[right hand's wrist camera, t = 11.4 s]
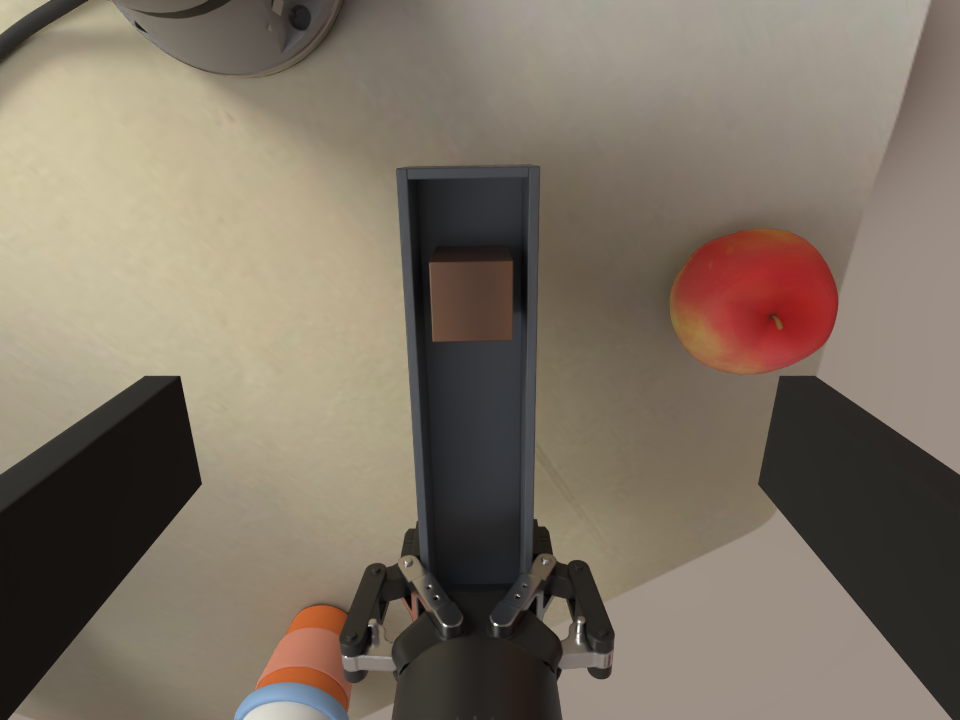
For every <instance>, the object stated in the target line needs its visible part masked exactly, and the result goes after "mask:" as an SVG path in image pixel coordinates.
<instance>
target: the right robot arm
mask: <svg viewBox="0 0 960 720" xmlns="http://www.w3.org/2000/svg"><path fill="white" fill-rule="evenodd" d="M86 1H88V0H50V1H49V2H47V3H46V4H44V5H42V6H41V7H39V8H37V9H36V10H34V11H33V12H31V13H29V14H28V15H26V16H25V17H24V18H22V19H21V20H19V21H18V22H16V23H15V24H14V25H12V26H11V27H10V28H8V29H7V30H6V31H4V32H3V33H2V34H1V35H0V60H1V59H2V58H3V57H4V56H6V55H7V54H8V53H9V52H10V51H12V50H13V49H14V48H15V47H17V46H18V45H19V44H20V43H22V42H23V41H24V40H26V39H27V38H29V37H30V36H31V35H33V34H34V33H36V32H37V31H39V30H40V29H42V28H43V27H45V26H46V25H48V24H50V23H51V22H53V21H55V20H56V19H58V18H60V17H61V16H63V15H65V14H67V13H68V12H70V11H71V10H73V9H75V8H76V7H78V6H80V5H81V4H83V3H85V2H86ZM108 1H111V2H113V3H115V5H116V6H117V7H118V8H119V10H120V11H121V12H122V13H123V15H124V16H125V17H126V18H127V19H128V20H129V22H130V23H131V24H132V25H133V26H134V27H135V28H136V29H137V30H138V31H139V32H140V33H141V34H142V35H144V36H145V37H146V38H147V39H148V40H150V41H151V42H152V43H153V44H155V45H156V46H157V47H159V48H160V49H162V50H163V51H164V52H166V53H167V54H169V55H170V56H172V57H174V58H176V59H177V60H179V61H181V62H183V63H185V64H187V65H190V66H192V67H195V68H197V69H200V70H203V71H207V72H210V73H214V74H218V75H222V76H227V77H234V78H254V77H262V76H267V75H271V74H274V73H277V72H280V71H282V70H285V69H287V68H289V67H291V66H293V65H294V64H296V63H298V62H299V61H301V60H302V59H303V58H305V57H306V56H307V55H309V54H310V53H311V52H312V51H313V50H314V49H315V48H316V47H317V46H318V45H319V43H320V42H321V41H322V40H323V39H324V37H325V36H326V35H327V33H328V32H329V30H330V29H331V27H332V25H333V23H334V22H335V20H336V18H337V16H338V13H339V11H340V9H341V6H342V3H343V0H108ZM201 485H202V482H201V477H200V472H199V467H198V462H197V457H196V452H195V447H194V442H193V437H192V432H191V427H190V422H189V417H188V412H187V407H186V403H185V398H184V393H183V388H182V383H181V378H180V376H144V377H143V378H141V379H140V380H138V381H137V382H136V383H134V384H133V385H131V386H130V387H128V388H127V389H125V390H124V391H122V392H121V393H119V394H118V395H117V396H115V397H114V398H112V399H111V400H109V401H108V402H106V403H105V404H103V405H102V406H100V407H99V408H97V409H96V410H95V411H93V412H92V413H90V414H89V415H87V416H86V417H84V418H83V419H81V420H80V421H78V422H77V423H76V424H74V425H73V426H71V427H70V428H68V429H67V430H65V431H64V432H62V433H61V434H59V435H58V436H57V437H55V438H54V439H52V440H51V441H49V442H48V443H46V444H45V445H43V446H42V447H40V448H39V449H37V450H36V451H35V452H33V453H32V454H30V455H29V456H27V457H26V458H24V459H23V460H21V461H20V462H18V463H17V464H16V465H14V466H13V467H11V468H10V469H8V470H7V471H5V472H4V473H2V474H1V475H0V720H8V718H9V717H10V716H11V715H12V714H13V712H14V711H15V710H16V709H17V708H18V706H19V705H20V704H21V703H22V702H23V700H24V699H25V698H26V697H27V695H28V694H29V693H30V692H31V691H32V689H33V688H34V687H35V686H36V685H37V683H38V682H39V681H40V680H41V679H42V677H43V676H44V675H45V674H46V672H47V671H48V670H49V669H50V668H51V666H52V665H53V664H54V663H55V662H56V660H57V659H58V658H59V657H60V655H61V654H62V653H63V652H64V651H65V649H66V648H67V647H68V646H69V645H70V643H71V642H72V641H73V640H74V639H75V637H76V636H77V635H78V634H79V632H80V631H81V630H82V629H83V628H84V626H85V625H86V624H87V623H88V622H89V620H90V619H91V618H92V617H93V615H94V614H95V613H96V612H97V611H98V609H99V608H100V607H101V606H102V605H103V603H104V602H105V601H106V600H107V599H108V597H109V596H110V595H111V594H112V592H113V591H114V590H115V589H116V588H117V586H118V585H119V584H120V583H121V582H122V580H123V579H124V578H125V577H126V576H127V574H128V573H129V572H130V571H131V569H132V568H133V567H134V566H135V565H136V563H137V562H138V561H139V560H140V559H141V557H142V556H143V555H144V554H145V552H146V551H147V550H148V549H149V548H150V546H151V545H152V544H153V543H154V542H155V540H156V539H157V538H158V537H159V536H160V534H161V533H162V532H163V531H164V529H165V528H166V527H167V526H168V525H169V523H170V522H171V521H172V520H173V519H174V517H175V516H176V515H177V514H178V513H179V511H180V510H181V509H182V508H183V506H184V505H185V504H186V503H187V502H188V500H189V499H190V498H191V497H192V496H193V494H194V493H195V492H196V491H197V489H198V488H199V487H200V486H201ZM758 485H759V486H760V487H761V488H762V489H763V491H764V492H765V493H766V494H767V496H768V497H769V498H770V499H771V500H772V502H773V503H774V504H775V505H776V506H777V508H778V509H779V510H780V511H781V513H782V514H783V515H784V516H785V517H786V518H787V520H788V521H789V522H790V523H791V525H792V526H793V527H794V528H795V529H796V531H797V532H798V533H799V534H800V536H801V537H802V538H803V539H804V540H805V542H806V543H807V544H808V545H809V546H810V548H811V549H812V550H813V551H814V552H815V554H816V555H817V556H818V557H819V559H820V560H821V561H822V562H823V563H824V565H825V566H826V567H827V568H828V569H829V571H830V572H831V573H832V574H833V576H834V577H835V578H836V579H837V580H838V582H839V583H840V584H841V585H842V586H843V588H844V589H845V590H846V591H847V592H848V594H849V595H850V596H851V597H852V598H853V600H854V601H855V602H856V603H857V605H858V606H859V607H860V608H861V609H862V611H863V612H864V613H865V614H866V615H867V617H868V618H869V619H870V620H871V622H872V623H873V624H874V625H875V626H876V628H877V629H878V630H879V631H880V632H881V634H882V635H883V636H884V637H885V639H886V640H887V641H888V642H889V643H890V645H891V646H892V647H893V648H894V649H895V651H896V652H897V653H898V654H899V655H900V657H901V658H902V659H903V660H904V662H905V663H906V664H907V665H908V666H909V668H910V669H911V670H912V671H913V672H914V674H915V675H916V676H917V677H918V679H919V680H920V681H921V682H922V683H923V685H924V686H925V687H926V688H927V689H928V691H929V692H930V693H931V694H932V695H933V697H934V698H935V699H936V700H937V702H938V703H939V704H940V705H941V706H942V708H943V709H944V710H945V711H946V712H947V714H948V715H949V716H950V717H951V718H952V720H960V475H959V474H958V473H956V472H955V471H953V470H952V469H950V468H949V467H947V466H946V465H944V464H943V463H942V462H940V461H939V460H937V459H936V458H934V457H933V456H931V455H930V454H928V453H927V452H925V451H924V450H922V449H921V448H920V447H918V446H917V445H915V444H914V443H912V442H911V441H909V440H908V439H906V438H905V437H903V436H902V435H901V434H899V433H898V432H896V431H895V430H893V429H892V428H890V427H889V426H887V425H886V424H884V423H883V422H882V421H880V420H879V419H877V418H876V417H874V416H873V415H871V414H870V413H868V412H867V411H865V410H864V409H863V408H861V407H860V406H858V405H857V404H855V403H854V402H852V401H851V400H849V399H848V398H846V397H845V396H843V395H842V394H841V393H839V392H838V391H836V390H835V389H833V388H832V387H830V386H829V385H827V384H826V383H824V382H823V381H822V380H820V379H819V378H817V377H816V376H780V378H779V383H778V388H777V393H776V398H775V403H774V407H773V412H772V417H771V422H770V427H769V432H768V437H767V442H766V447H765V452H764V457H763V462H762V467H761V472H760V477H759V482H758Z"/></svg>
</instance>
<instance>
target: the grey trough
mask: <svg viewBox="0 0 960 720" xmlns="http://www.w3.org/2000/svg"><path fill="white" fill-rule="evenodd" d="M396 176H397V191H398V207H399V223H400V239H401V255H402V271H403V287H404V303H405V319H406V335H407V350H408V366H409V382H410V398H411V414H412V430H413V446H414V462H415V478H416V494H417V510H418V525H419V541H420V557H421V564H422V566H423V567H424V569H425V570H426V572H427V573H428V574H429V573H432V574H433V575H434V577H435V578H436V580H437V581H438V583H439V584H440V586H441V587H442V588H443V590H444V591H445V593H446V594H447V595H449V591H467V592H472V593H481V592H486V591H491V590H505V594H507V593H508V592H509V590H510V589H511V587H512V586H513V584H514V583H515V581H516V580H517V578H518V577H519V575H520V574H521V573H522V572H525V573H526V572H527V571H528V569H529V568H530V566H531V565H532V563H533V513H534V459H535V405H536V351H537V297H538V243H539V189H540V166H536V165H473V166H415V167H404V168H397V169H396ZM489 245H508V247H509V250H510V253H511V256H512V260H513V340H512V341H466V342H433V340H432V318H431V297H430V276H429V262H430V260H431V257H432V255H433V253H434V251H435V249H436V247H437V246H489Z"/></svg>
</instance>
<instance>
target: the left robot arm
mask: <svg viewBox="0 0 960 720" xmlns="http://www.w3.org/2000/svg"><path fill="white" fill-rule="evenodd" d="M554 596H557V597H561V598H565V599H566V601H567V604H568V607H569V610H570V614H571V617H572V620H573V623H572V624H571V625H570V627H569V636H568V637H567V638H566V639H564V640H562V641H560V639H559V638H558V636H557V635H556V634H555V633H554V632H553V631H552V630H550V629H549V628H548V627H547V626H546V625H545V624H544V623H543V622H542V621H543V616H544V614H545V612H546V610H547V609H548V607H549V605H550V603H551V602H552V600H553V598H554ZM399 598H401V599H402V601H403V602H404V604H405V606H406V608H407V609H408V611H409V613H410V615H411V617H412V619H413V623H412V624H411V625H410V626H409V627H408V628H407V629H406V630H404V631H403V632H402V633H401V634H400V635H399V636H398V637H397V639H396V640H395V642H394V643H392V642H389V641H388V640H387V639H386V633H385V628H384V627H383V626H382V624H383V621H384V618H385V615H386V612H387V608H388V605H389V601H392V600H395V599H399ZM614 636H615V634H614V631H613V628H612V625H611V623H610V620H609V618H608V615H607V612H606V610H605V607H604V605H603V602H602V599H601V597H600V594H599V592H598V589H597V587H596V584H595V581H594V579H593V576H592V574H591V571H590V568H589V566H588V564H587V563H585V562H584V561H581V560H573V561H571V562H570V563H569V564H568V565H566V564H562V563H559V562H558V561H556V558H555V557H554V556H553V552H552V546H551V541H550V535H549V531H548V530H547V529H546V527H538V523H537V519H533V563H532V565H531V566H530V568H529V569H528V571H527V572H526V573H525V572H522V573H521V574H520V575H519V577H518V578H517V580H516V581H515V583H514V584H513V586H512V587H511V589H510V590H509V592H508V593H507V594H505V590H491V591H486V592H481V593H472V592H467V591H449V595H447V594H446V593H445V591H444V590H443V588H442V587H441V586H440V584H439V583H438V581H437V580H436V578H435V577H434V575H433V574H432V573H429V574H428V573H427V572H426V570H425V569H424V567H423V566H422V564H421V557H420V541H419V525H418V521H417V524H416V529H409V530H408V531H407V532H406V533H405V538H404V543H403V548H402V553H401V558H400V559H399V561H398V563H397V564H395V565H393V566H390V567H386V566H385V565H383V564H381V563H374V564H371V565H369V566H368V567H367V568H366V570H365V572H364V575H363V577H362V580H361V583H360V585H359V588H358V590H357V593H356V595H355V598H354V600H353V603H352V606H351V608H350V611H349V613H348V616H347V618H346V621H345V623H344V626H343V629H342V631H341V634H340V636H339V643H340V650H341V658H342V665H343V673H344V678H345V680H346V681H348V682H350V683H357V682H360V681H361V680H363V679H364V678H365V677H366V675H367V673H368V670H373V671H390V672H393V674H394V677H395V679H396V681H397V688H396V694H395V701H394V707H393V714H392V720H562V714H561V707H560V700H559V693H558V687H557V680H558V678H559V677H560V674H561V671H562V670H563V669H574V668H586V667H587V669H588V672H589V673H590V674H591V675H592V676H593V677H595V678H597V679H606V678H608V677H609V676H610V675H611V670H612V661H613V650H614Z"/></svg>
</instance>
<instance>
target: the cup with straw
mask: <svg viewBox="0 0 960 720" xmlns="http://www.w3.org/2000/svg"><path fill="white" fill-rule="evenodd" d="M347 616H348V615H347V614H346V613H345V612H343V611H342V610H340V609H338V608H335V607H332V606H326V605H317V606H312V607H308V608H306V609H304V610H302V611H301V612H300V613H299V614H298V615H297V616H296V617H295V619H294V620H293V622H292V624H291V626H290V627H289V629H288V631H287V633H286V635H285V637H284V638H283V639H282V640H281V641H280V642H279V644H278V646H277V648H276V649H275V651H274V653H273V655H272V657H271V659H270V661H269V662H268V664H267V666H266V668H265V670H264V672H263V674H262V676H261V677H260V679H259V681H258V683H257V685H256V688H255V691H254V692H252V693H251V694H250V695H249V696H247V697H246V698H245V699H244V701H243V702H242V703H241V705H240V706H239V708H238V710H237V712H236V715H235V718H234V720H349V717H348V715H347V712H348V709H349V702H350V695H351V687H352V683H350V682H348V681H346V680H345V678H344V673H343V665H342V658H341V650H340V643H339V636H340V634H341V631H342V629H343V626H344V623H345V621H346V618H347Z"/></svg>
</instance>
